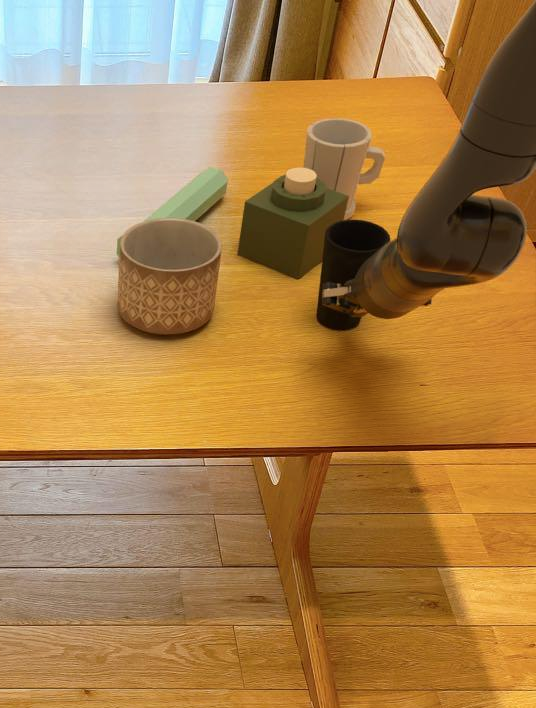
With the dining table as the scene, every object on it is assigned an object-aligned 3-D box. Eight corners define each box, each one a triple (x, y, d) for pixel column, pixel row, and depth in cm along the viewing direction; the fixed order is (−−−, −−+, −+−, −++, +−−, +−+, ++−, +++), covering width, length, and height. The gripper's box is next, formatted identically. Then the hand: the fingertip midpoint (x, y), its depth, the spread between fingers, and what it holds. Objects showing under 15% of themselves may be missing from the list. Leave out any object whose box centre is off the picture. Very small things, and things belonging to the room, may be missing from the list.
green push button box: (337, 249, 144) (352, 183, 136) (298, 279, 139) (311, 212, 132) (276, 226, 149) (287, 161, 141) (237, 254, 144) (246, 188, 137)
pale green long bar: (211, 152, 152) (125, 223, 139) (242, 175, 152) (159, 249, 138) (194, 182, 157) (109, 254, 144) (224, 205, 157) (142, 279, 143)
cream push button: (319, 187, 137) (322, 173, 135) (303, 199, 135) (306, 184, 133) (294, 178, 139) (296, 164, 137) (277, 190, 137) (280, 175, 135)
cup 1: (331, 186, 156) (347, 108, 147) (376, 210, 151) (395, 131, 142) (280, 207, 152) (293, 129, 144) (324, 232, 147) (341, 153, 138)
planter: (138, 278, 141) (142, 209, 133) (226, 299, 137) (235, 229, 129) (101, 327, 134) (104, 257, 126) (193, 351, 129) (201, 280, 122)
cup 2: (363, 340, 129) (384, 256, 120) (302, 328, 131) (319, 245, 123) (373, 307, 134) (394, 225, 125) (314, 297, 136) (331, 214, 127)
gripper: (465, 241, 109) (410, 278, 126) (339, 241, 109) (301, 278, 127) (463, 311, 109) (408, 339, 126) (337, 311, 110) (300, 339, 127)
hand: (355, 308), depth 126 cm, fingers closed
